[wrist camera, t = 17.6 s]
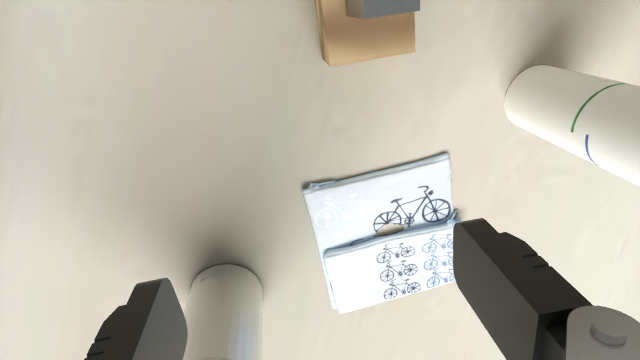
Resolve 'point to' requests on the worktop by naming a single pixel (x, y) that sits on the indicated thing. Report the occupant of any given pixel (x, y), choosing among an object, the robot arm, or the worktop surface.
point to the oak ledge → (362, 34)
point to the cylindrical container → (580, 115)
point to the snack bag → (384, 251)
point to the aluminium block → (379, 8)
